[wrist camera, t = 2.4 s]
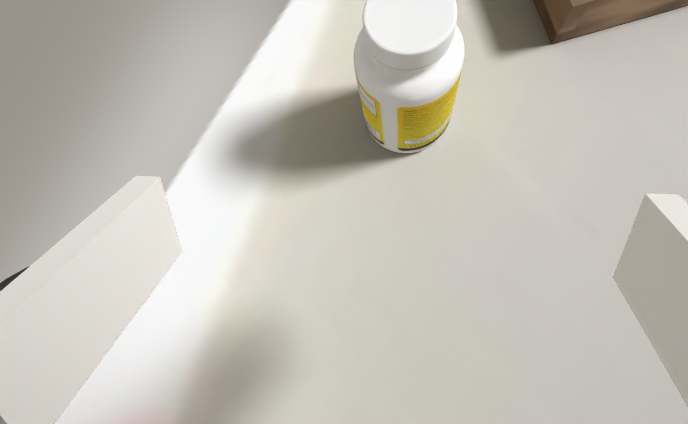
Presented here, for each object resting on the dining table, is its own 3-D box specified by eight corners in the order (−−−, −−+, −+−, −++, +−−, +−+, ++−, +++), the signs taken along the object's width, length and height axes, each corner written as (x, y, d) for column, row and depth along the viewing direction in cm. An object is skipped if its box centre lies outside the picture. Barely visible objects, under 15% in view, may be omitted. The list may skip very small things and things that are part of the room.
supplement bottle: (463, 93, 27) (496, -21, 18) (428, 168, 27) (444, 90, 17) (385, 65, 29) (377, -56, 19) (350, 136, 28) (324, 47, 18)
